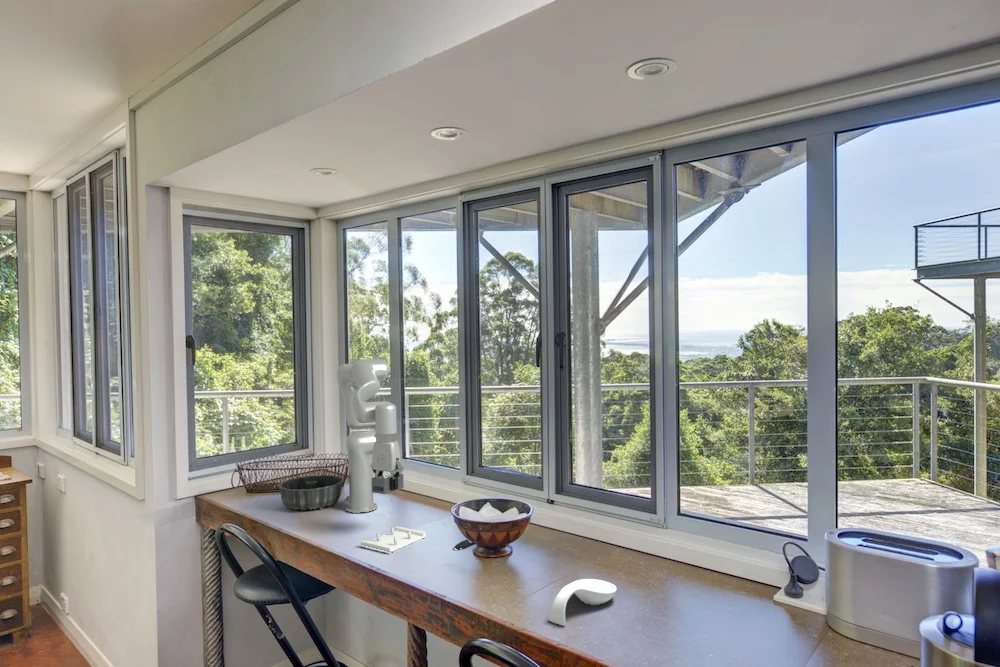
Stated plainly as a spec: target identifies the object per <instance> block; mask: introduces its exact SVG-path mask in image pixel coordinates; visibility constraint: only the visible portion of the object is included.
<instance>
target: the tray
mask: <svg viewBox="0 0 1000 667" xmlns="http://www.w3.org/2000/svg"><path fill="white" fill-rule="evenodd" d="M380 534H381V533H380V532H377V533H376V537H375V538H373V539H371V540H370V539H369V540H361V541H360V546H361V545H364V546H368V547H372V548H376V549H380V550H384V551H387V552H391V551H394V550H396V549H398V548H401V547H403V546H405V545H408V544H410V543H412V542H414V541H417V540H419V539H422V538H424V537H425V538H426V532H425V531H421V530H417V529H412V528H406V527H403V526H402V527H401V526H395V527H393V526H391V527H390V531H389V532H387V533H385V534H382V535H380ZM422 540H423V539H422Z"/></svg>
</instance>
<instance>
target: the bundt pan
mask: <svg viewBox="0 0 1000 667" xmlns="http://www.w3.org/2000/svg"><path fill="white" fill-rule="evenodd" d="M344 479H345V478H343V477H341V476H337V475H334V474H333V475H330V474H329V475H326V474H319V475H307V476H297V477H296V478H295V477H294V478H293V477H292V478H290V479H289V478H288V479H286V480H284V481H281V482H280V483H278V484H277V487H278V488H279V492H280V498H281V501H282V503H283V505H284V507H286V508H288V509H289V508H292V509H291V510H294V509H300V510H301V511H303V510H305V509H306V510H309V509H310V510H309V511H313V510H312V509H314V510H316V509H319V508H322V509H324V508H325V507H324V506H328V507H330V506H332V504H333V505H335V504H336V503H338V501H339V499H340V497H341V495H342V490H343V482H344ZM306 510H305V511H306Z"/></svg>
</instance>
